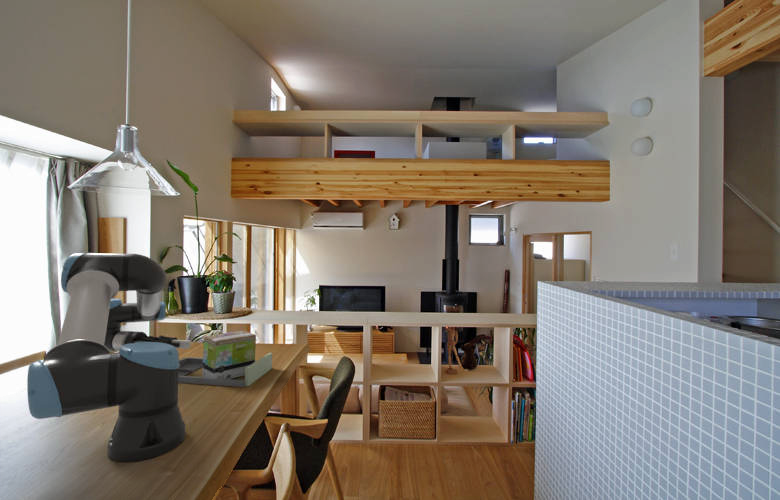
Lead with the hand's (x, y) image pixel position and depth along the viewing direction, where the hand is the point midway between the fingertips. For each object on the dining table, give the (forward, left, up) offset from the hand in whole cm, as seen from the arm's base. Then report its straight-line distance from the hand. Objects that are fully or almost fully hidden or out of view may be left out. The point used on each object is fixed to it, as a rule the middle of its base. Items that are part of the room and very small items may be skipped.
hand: (189, 344), depth 132 cm
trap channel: (0, -9, -10) cm, 14 cm away
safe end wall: (0, -28, -10) cm, 29 cm away
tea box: (-1, -16, -10) cm, 19 cm away
